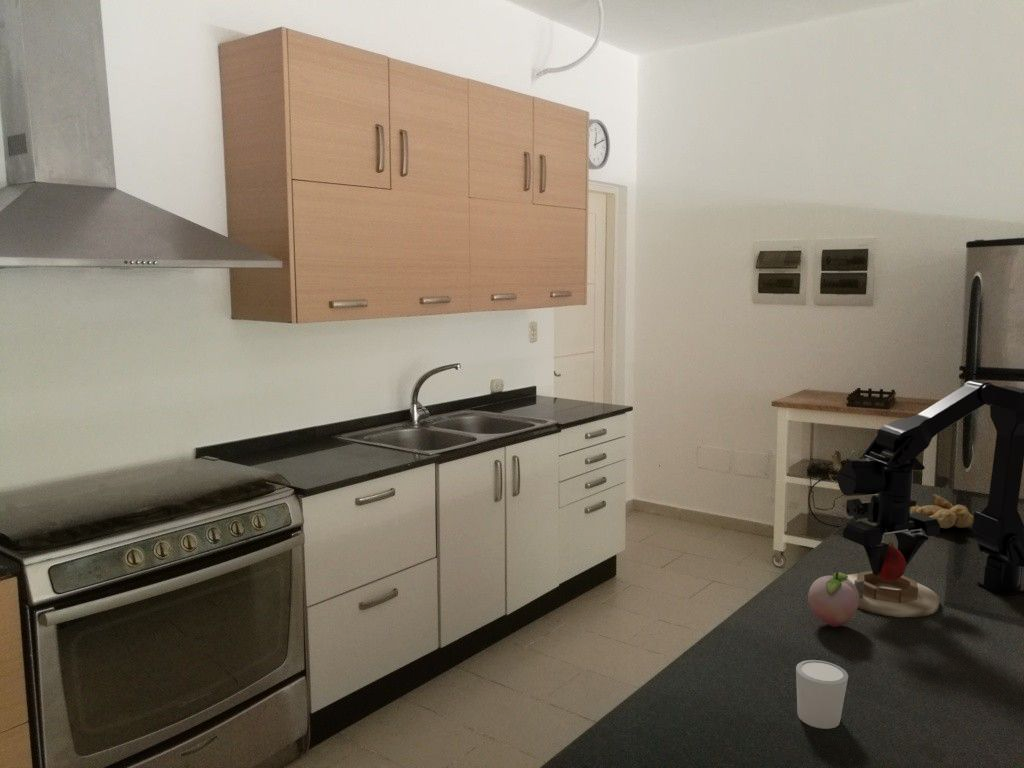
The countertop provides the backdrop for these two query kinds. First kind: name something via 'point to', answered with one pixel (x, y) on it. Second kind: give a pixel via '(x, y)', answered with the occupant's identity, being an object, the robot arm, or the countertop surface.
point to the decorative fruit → (834, 599)
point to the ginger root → (946, 513)
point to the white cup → (820, 693)
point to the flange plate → (900, 609)
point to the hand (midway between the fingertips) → (888, 572)
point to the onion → (892, 564)
